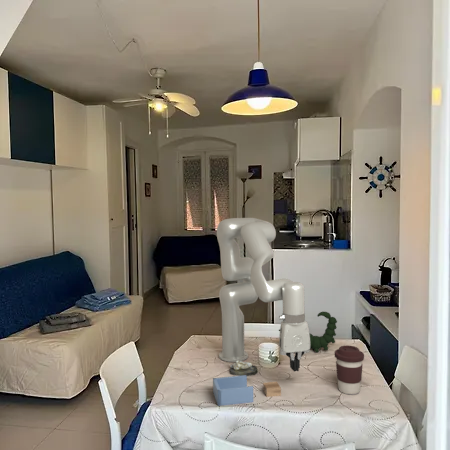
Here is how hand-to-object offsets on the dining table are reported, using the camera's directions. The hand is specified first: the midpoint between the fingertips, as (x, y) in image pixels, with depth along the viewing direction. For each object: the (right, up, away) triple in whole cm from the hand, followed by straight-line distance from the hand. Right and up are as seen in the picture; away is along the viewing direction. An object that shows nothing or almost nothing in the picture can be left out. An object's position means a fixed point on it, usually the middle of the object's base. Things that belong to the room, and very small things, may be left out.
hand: (295, 369), depth 145 cm
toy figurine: (+12, -6, +41) cm, 43 cm away
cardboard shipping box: (-8, -8, 0) cm, 11 cm away
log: (-17, -8, +19) cm, 26 cm away
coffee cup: (+19, -8, +1) cm, 21 cm away
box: (-22, -8, -3) cm, 24 cm away
